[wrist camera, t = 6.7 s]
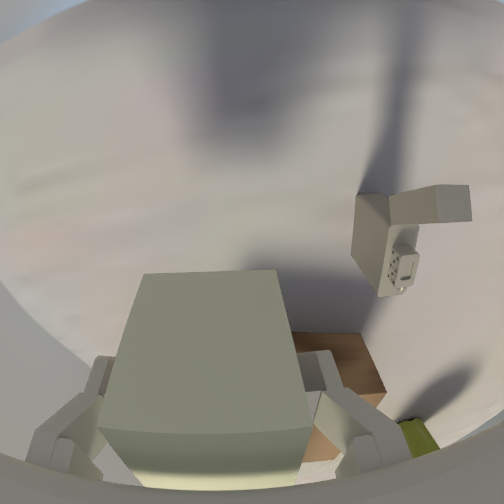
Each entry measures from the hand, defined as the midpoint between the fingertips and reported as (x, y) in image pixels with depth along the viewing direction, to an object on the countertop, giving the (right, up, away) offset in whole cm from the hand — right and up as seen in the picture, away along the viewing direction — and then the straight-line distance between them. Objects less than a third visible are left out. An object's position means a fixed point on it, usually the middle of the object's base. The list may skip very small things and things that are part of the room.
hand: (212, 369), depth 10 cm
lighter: (+8, +7, +8) cm, 13 cm away
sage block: (0, +1, +2) cm, 2 cm away
